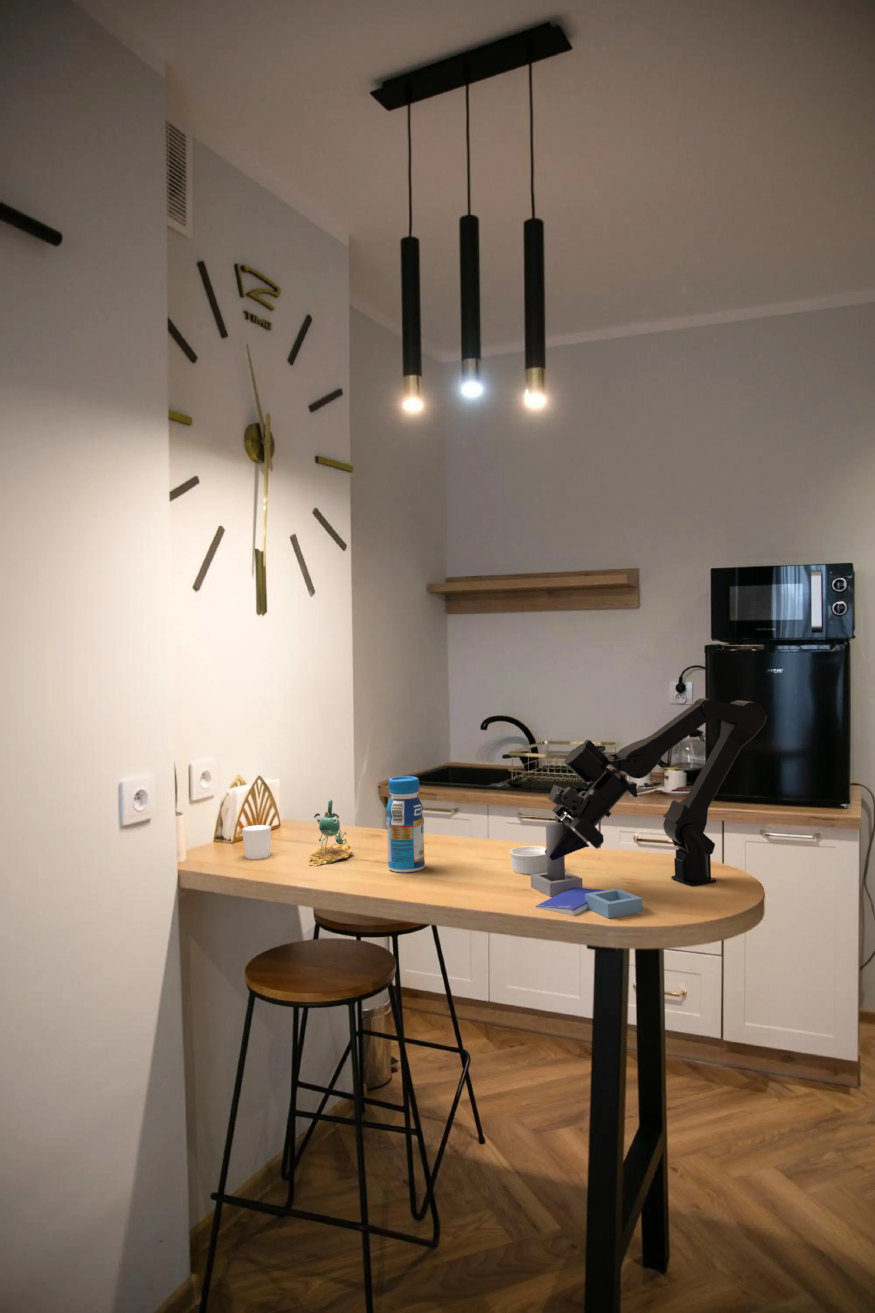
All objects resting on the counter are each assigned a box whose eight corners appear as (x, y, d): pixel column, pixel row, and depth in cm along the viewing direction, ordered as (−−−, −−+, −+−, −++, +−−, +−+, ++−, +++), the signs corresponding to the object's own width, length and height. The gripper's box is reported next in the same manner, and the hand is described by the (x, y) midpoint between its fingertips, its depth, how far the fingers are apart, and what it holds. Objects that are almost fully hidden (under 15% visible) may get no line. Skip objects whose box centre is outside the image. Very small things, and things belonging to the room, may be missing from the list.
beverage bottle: (381, 867, 193) (378, 778, 193) (415, 861, 197) (412, 774, 197) (397, 875, 186) (394, 782, 186) (432, 869, 190) (429, 778, 189)
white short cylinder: (266, 860, 203) (265, 830, 203) (238, 860, 204) (237, 830, 204) (276, 853, 210) (275, 824, 210) (249, 853, 211) (248, 824, 211)
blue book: (572, 908, 155) (607, 889, 164) (535, 904, 160) (570, 886, 169) (573, 917, 155) (608, 898, 164) (536, 913, 160) (571, 894, 169)
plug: (559, 886, 174) (557, 821, 174) (568, 890, 171) (566, 824, 170) (544, 888, 172) (542, 823, 172) (553, 892, 169) (551, 826, 169)
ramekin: (549, 876, 182) (549, 855, 182) (508, 875, 183) (507, 855, 183) (552, 865, 190) (552, 846, 190) (512, 865, 192) (512, 845, 192)
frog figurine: (370, 850, 210) (365, 791, 209) (330, 877, 194) (325, 813, 193) (336, 847, 215) (331, 789, 213) (295, 873, 198) (289, 810, 197)
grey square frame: (562, 882, 176) (562, 870, 176) (582, 891, 170) (582, 878, 170) (531, 887, 173) (530, 875, 173) (550, 896, 167) (549, 883, 167)
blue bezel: (618, 901, 162) (618, 888, 162) (642, 912, 155) (642, 898, 155) (585, 907, 159) (584, 894, 159) (608, 918, 152) (608, 904, 152)
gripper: (560, 764, 181) (510, 820, 180) (585, 777, 162) (529, 839, 161) (598, 800, 182) (548, 855, 181) (627, 817, 163) (571, 879, 162)
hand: (548, 856), depth 171 cm, fingers closed on plug, 3 cm apart
